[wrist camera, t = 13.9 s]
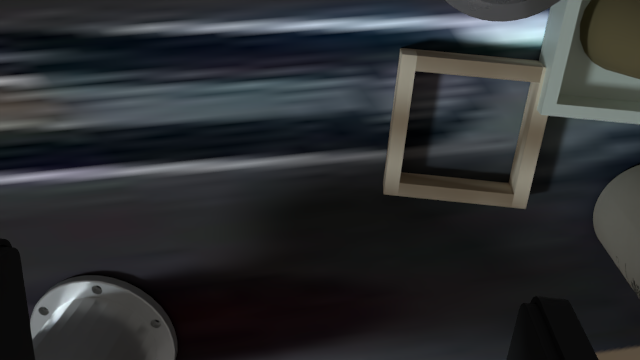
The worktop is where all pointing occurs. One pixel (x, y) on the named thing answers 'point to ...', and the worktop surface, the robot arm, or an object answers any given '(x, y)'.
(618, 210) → the travel mug
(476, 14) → the grey pedestal stand
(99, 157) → the worktop surface
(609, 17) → the brown rounded lump
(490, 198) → the socket
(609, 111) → the tray
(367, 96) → the worktop surface
